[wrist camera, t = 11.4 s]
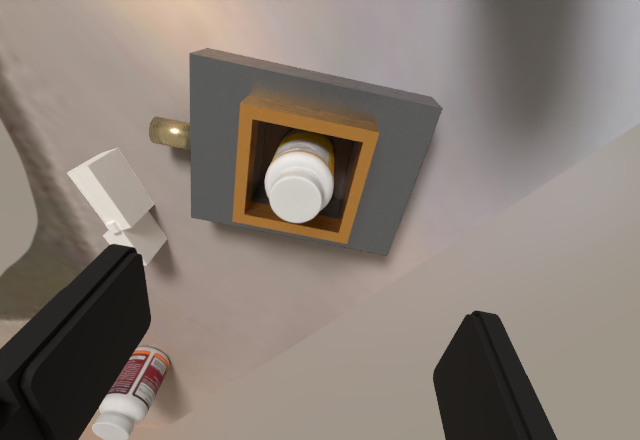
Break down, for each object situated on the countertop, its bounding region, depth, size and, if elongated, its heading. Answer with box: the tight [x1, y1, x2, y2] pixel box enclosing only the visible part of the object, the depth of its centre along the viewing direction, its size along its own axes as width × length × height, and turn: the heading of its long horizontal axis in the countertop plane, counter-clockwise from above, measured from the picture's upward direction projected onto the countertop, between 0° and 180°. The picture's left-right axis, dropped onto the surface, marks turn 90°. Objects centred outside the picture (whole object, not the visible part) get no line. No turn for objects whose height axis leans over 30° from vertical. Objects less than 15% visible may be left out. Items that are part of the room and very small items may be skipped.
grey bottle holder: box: [149, 48, 443, 256], centre depth 31 cm, size 24×15×6 cm, turn 79°
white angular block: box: [67, 148, 167, 266], centre depth 36 cm, size 15×11×6 cm
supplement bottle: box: [265, 128, 335, 223], centre depth 29 cm, size 6×6×10 cm
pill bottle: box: [92, 347, 169, 440], centre depth 48 cm, size 6×6×11 cm
